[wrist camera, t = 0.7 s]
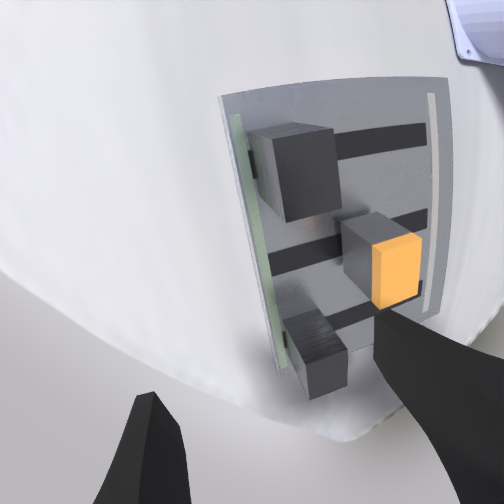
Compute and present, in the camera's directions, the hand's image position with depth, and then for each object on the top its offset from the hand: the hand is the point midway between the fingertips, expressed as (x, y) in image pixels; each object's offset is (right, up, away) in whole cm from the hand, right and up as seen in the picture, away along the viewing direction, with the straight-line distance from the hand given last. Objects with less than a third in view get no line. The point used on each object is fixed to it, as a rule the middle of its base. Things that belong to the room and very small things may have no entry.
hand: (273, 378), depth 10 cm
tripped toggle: (+5, +4, +8) cm, 11 cm away
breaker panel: (+6, +5, +10) cm, 13 cm away
